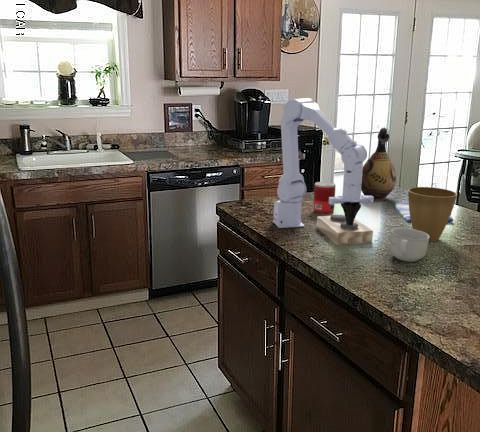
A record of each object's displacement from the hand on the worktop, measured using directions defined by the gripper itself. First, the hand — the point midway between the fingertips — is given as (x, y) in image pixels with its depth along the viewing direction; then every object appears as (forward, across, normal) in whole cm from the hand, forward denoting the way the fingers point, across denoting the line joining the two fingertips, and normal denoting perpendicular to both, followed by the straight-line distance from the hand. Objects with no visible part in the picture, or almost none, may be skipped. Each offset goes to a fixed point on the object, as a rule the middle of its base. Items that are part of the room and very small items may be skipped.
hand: (349, 224), depth 171 cm
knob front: (+4, 0, 0) cm, 4 cm away
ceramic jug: (+5, +34, +51) cm, 62 cm away
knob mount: (+5, 0, +4) cm, 7 cm away
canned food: (+5, +4, +34) cm, 35 cm away
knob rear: (+4, 0, +9) cm, 10 cm away
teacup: (+5, +9, -21) cm, 23 cm away
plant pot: (+5, +26, -4) cm, 27 cm away
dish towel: (+6, +40, +23) cm, 47 cm away
